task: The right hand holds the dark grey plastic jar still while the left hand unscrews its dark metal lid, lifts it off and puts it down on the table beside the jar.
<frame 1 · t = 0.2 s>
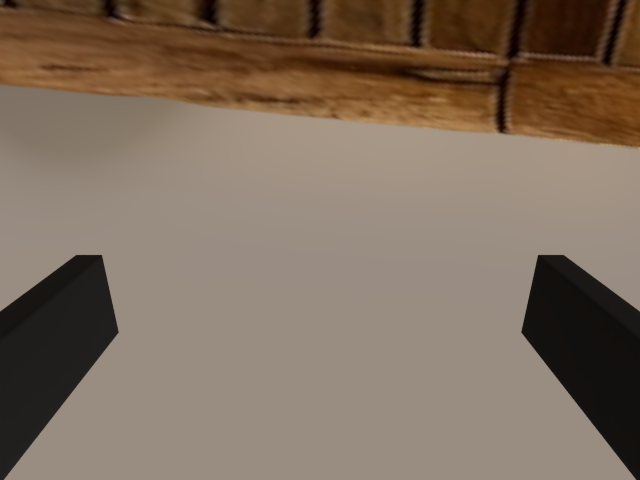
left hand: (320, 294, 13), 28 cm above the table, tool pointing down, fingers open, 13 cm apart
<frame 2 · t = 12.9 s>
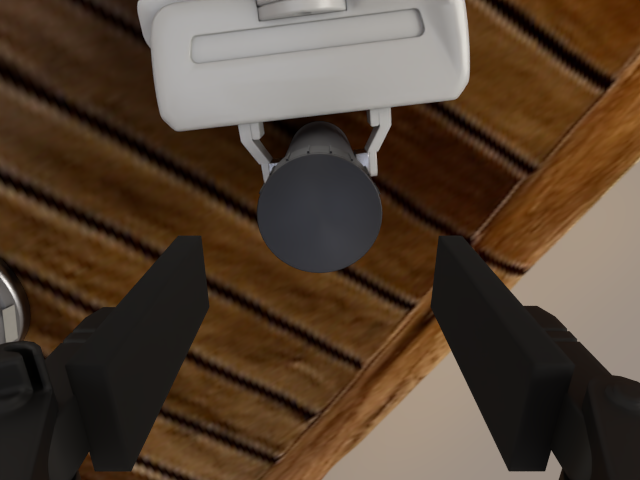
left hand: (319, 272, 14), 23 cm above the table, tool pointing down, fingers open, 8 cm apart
right hand: (321, 180, 30), fingers closed on jar, 5 cm apart
jar: (319, 152, 36), on the table, touching right hand
lid: (319, 214, 20), point 17 cm above the table, screwed on, not yet turned
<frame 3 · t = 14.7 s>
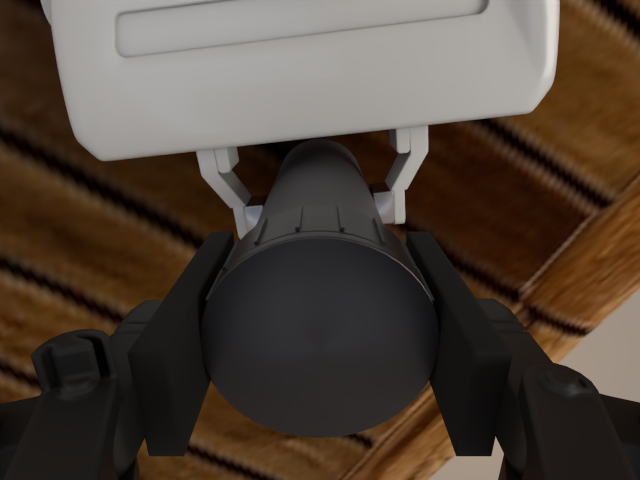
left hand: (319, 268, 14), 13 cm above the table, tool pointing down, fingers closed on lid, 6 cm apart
right hand: (322, 228, 21), fingers closed on jar, 5 cm apart
jar: (319, 180, 26), on the table, touching right hand
lid: (319, 340, 10), point 17 cm above the table, screwed on, not yet turned, touching left hand
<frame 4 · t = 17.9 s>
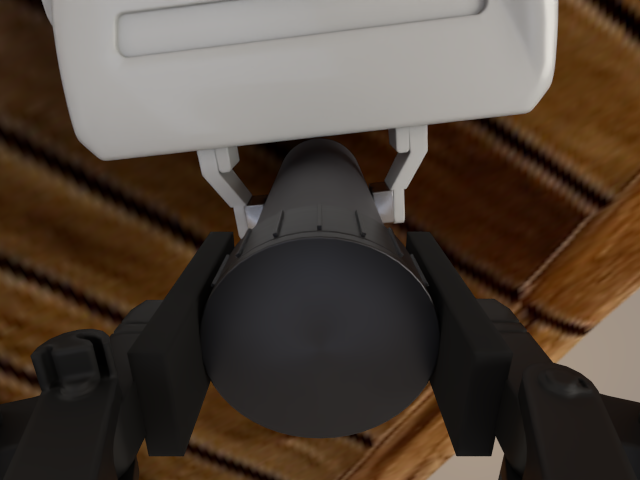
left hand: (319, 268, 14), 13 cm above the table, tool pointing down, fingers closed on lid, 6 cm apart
right hand: (322, 227, 21), fingers closed on jar, 5 cm apart
jar: (319, 179, 26), on the table, touching right hand
lid: (319, 340, 10), point 17 cm above the table, turned 90° so far, risen 0.1 cm, still on its thread, touching left hand
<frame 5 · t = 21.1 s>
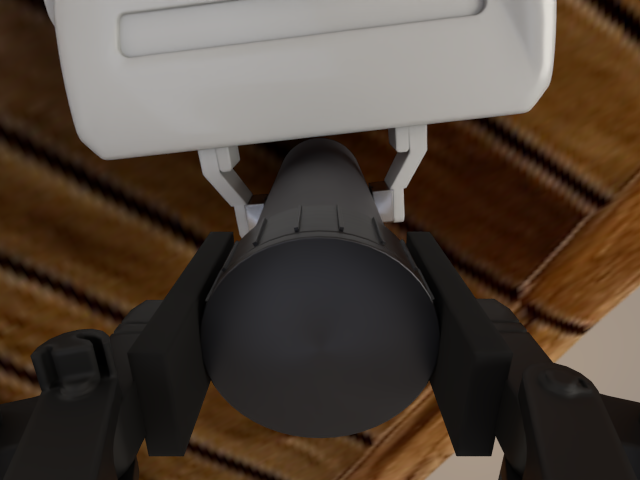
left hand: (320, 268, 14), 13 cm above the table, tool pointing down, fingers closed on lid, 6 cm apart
right hand: (322, 226, 21), fingers closed on jar, 5 cm apart
jar: (320, 179, 26), on the table, touching right hand
lid: (320, 340, 10), point 17 cm above the table, turned 181° so far, risen 0.2 cm, still on its thread, touching left hand
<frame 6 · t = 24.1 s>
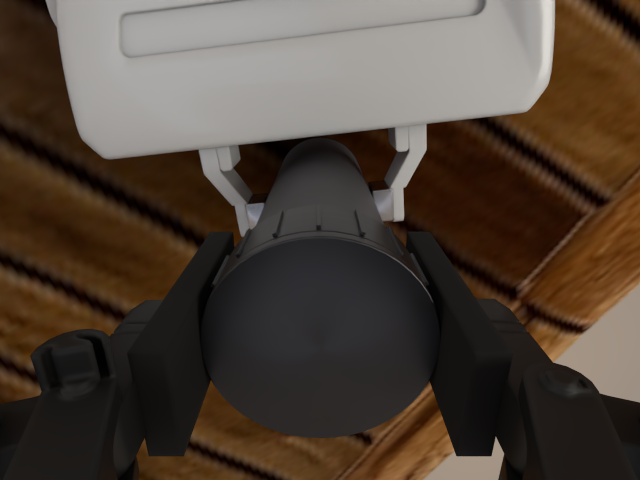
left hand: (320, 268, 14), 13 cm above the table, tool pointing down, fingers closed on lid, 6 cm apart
right hand: (323, 225, 21), fingers closed on jar, 5 cm apart
jar: (320, 178, 27), on the table, touching right hand
lid: (320, 340, 10), point 17 cm above the table, turned 271° so far, risen 0.4 cm, still on its thread, touching left hand
when the left hand's fingers open (0 cm above the table, at t = 36.6 s): lid drops 2 cm, point 2 cm above the table.
when the right hand's fingers open (6 cm above the table, at t = 37.3 s): jar stays where it is, on the table.
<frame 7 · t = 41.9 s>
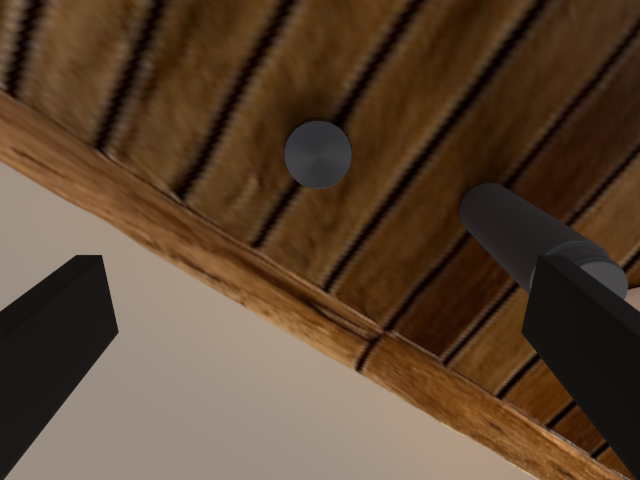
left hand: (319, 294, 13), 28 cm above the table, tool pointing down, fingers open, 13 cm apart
jar: (485, 208, 40), on the table
lid: (318, 155, 36), point 2 cm above the table, off its thread
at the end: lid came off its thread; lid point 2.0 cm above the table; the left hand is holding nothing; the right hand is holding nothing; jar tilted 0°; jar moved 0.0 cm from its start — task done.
